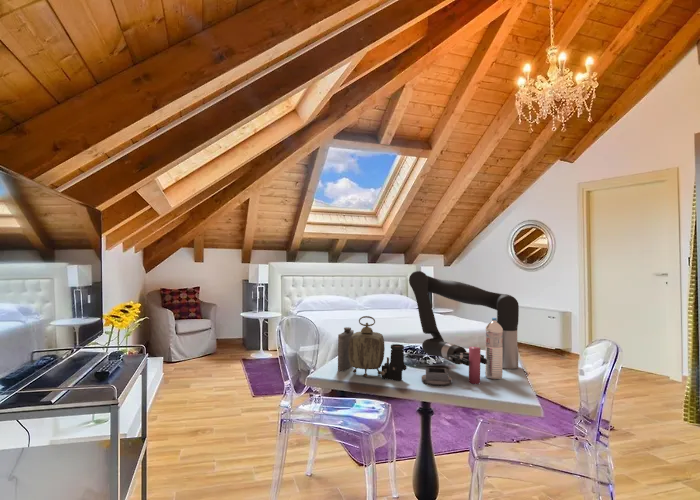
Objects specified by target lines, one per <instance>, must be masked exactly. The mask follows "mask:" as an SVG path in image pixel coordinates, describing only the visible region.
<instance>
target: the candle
mask: <svg viewBox="0 0 700 500" xmlns="http://www.w3.org/2000/svg"><path fill="white" fill-rule="evenodd" d="M468 352H469V361H470V365H469V366H468V383H469V384H472V385H480V384H481V363H480V354H481V347H479V346H469V347H468Z"/></svg>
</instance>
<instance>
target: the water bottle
mask: <svg viewBox="0 0 700 500" xmlns="http://www.w3.org/2000/svg"><path fill="white" fill-rule="evenodd" d="M502 332H503V328H502V327H501V325H500V324H499V323H498V322H497V317H492V318H491V321H490V322H489V323H488V324H487V325H486V326H485V355H484V358H486V359H487V364H484V365H485V366H484V367H485V371H484V372H485V377H486V378H487V379H489V380H502V379H503V369H504V368H503V367H502V366H503V365H502V364H503V363H502V362H503V361H502V360H503V347H502Z"/></svg>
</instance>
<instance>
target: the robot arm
mask: <svg viewBox="0 0 700 500" xmlns="http://www.w3.org/2000/svg"><path fill="white" fill-rule="evenodd" d="M408 282H409V286H410V288H411V289H412V291H413V293H414V298H415V301H416V304H417V305H416V306H417V309H418V310H417V311H418V317H419V320H420V325H421V329H422V333H423V334H427V335H428V334H429V335H431V336H432V338H427V339H425V340H424V341H423V342H422V343H421V345H422V351H423V352H424V353H425V354H426V355H429V356H433V357H441V358H442V359H445V360H446V361H448V362H451V363H453V364H454V365H464V366H467V367H469V365H470V361H469V351H467V350H466V349H465V348H464V347H463V346H460V345H457V344H454V343H449V342H446V341H444V338H443V336H442V334H441V333H440V330H439V329H438V325H437V321H436V318H435V313H434V310H433V308H432V303H431V300H430V296H429V293H430V294H433V295H434V294H436V295H438V296H441V297H443V298H446V299H448V300H452V301H455V302H459V303H462V304H467V305H473V306H483V307H486V308H489V309H493V310H494V311H496V314H497V315H496V316H497V317H496V318H497V321H496V322H498V323H499V324H500V325H501V327H502V328H503V332H502V347H503V360H502V361H503V362H502V363H503V364H502V365H503V366H502V367H503V368H502V369H506V370H507V369H508V370H509V369H510V370H514V369H519V347H518V327H519V326H518V325H519V317H520V316H519V314H520V311H519V310H520V308H519V302H518V300H517V299H516V298H515V297H514V296H513V295H510V294H507V293H506V294H505V293H499V292H492V291H488V290H485V289H483V288H480V287H477V286H474V285H471V284H467V283H464V282H461V281H460V282H459V281H456V280H446V279H445V280H444V279H438V278H435V277H432V276H429V275H427V274H426V273H425V272H424V271H421V270H415V271H413V272H412V273H411V274H410V275H409V278H408ZM480 364H483V365H485V364H487V359H486V358H485V355H484V354H481V353H480Z"/></svg>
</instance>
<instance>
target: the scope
mask: <svg viewBox="0 0 700 500" xmlns="http://www.w3.org/2000/svg"><path fill="white" fill-rule="evenodd" d="M390 349H391V350H390V357H386V362H385V363H383V364H381V370H380V371H381V372H380V375H381V380H390V381H391V380H392V381H394V382H395V381H396V382H400V381H403V380H402V379H403V371H406V370H407V365H406V364H405V356H404V349H405V345H403V344H399V343H393V344H391V345H390Z"/></svg>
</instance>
